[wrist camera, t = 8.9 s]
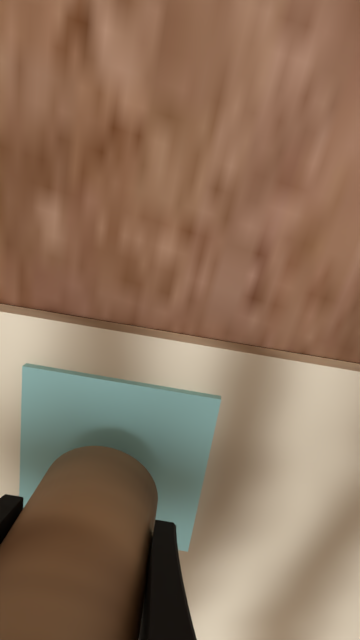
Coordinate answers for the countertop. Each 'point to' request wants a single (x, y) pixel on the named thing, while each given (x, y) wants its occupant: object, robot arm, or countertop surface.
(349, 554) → the birch board
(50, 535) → the walnut cylinder
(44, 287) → the countertop surface
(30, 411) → the pad
